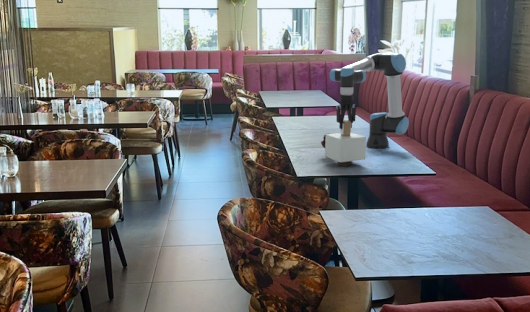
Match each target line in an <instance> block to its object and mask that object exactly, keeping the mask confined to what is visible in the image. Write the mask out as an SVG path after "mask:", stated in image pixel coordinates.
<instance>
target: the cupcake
mask: <svg viewBox="0 0 530 312" xmlns="http://www.w3.org/2000/svg"><path fill="white" fill-rule="evenodd" d="M352 163H353V161H348V162H338V161H337V164H338V165H339V166H343V165H344V166H343V167H345V166H351V165H352Z"/></svg>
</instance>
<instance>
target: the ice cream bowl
mask: <svg viewBox="0 0 530 312" xmlns="http://www.w3.org/2000/svg"><path fill="white" fill-rule="evenodd" d="M326 134H327V133H325V134H324V135H323V140H321V142H320V144H321V146H322V147H323V148H324V149H325V137H326ZM324 157H325V158H327V157H326V156H325V155H324Z"/></svg>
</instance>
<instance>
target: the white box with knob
mask: <svg viewBox="0 0 530 312" xmlns="http://www.w3.org/2000/svg"><path fill="white" fill-rule="evenodd" d="M343 123H344V135H342V134H340V132H339V133H338V132H336V133H325V134H326V137H325V148H324V151H325V153H324V157H325V156H326V157H325V158H329V159H330V160H333V161H335V162H337V163H338V162H348V161H352V162H354V161H355V162H356V161H361V160H362V161H363V160H366V148H367V146H366V143H367V136H364V135H361V134H358V133H354V132H351V134H350V128H351V121H349V120H348V119H344V120H343ZM351 129H352V128H351Z"/></svg>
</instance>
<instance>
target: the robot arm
mask: <svg viewBox="0 0 530 312" xmlns="http://www.w3.org/2000/svg"><path fill="white" fill-rule="evenodd" d="M406 65H407V61H406V58H405V56H404V55H403V54H402V53H396V52H377V53H374V54H371V55H368V56H365V57H364V58H362V60H360V61H357V62H354V63H352V64H348V65H346V66H344V67H340V68H332V69H331V70H330V72H329V80H331V81H332V82H336V83H337V82H339V83H340V88H339V89H340V91H339V93H340V95H339V104H338V105H336V106H335V109H336V111H335V112H336V123H339V129H340V132H339V133H340V134H342V135H344V123H343V120H345V115H346V112H347V120H349V121H351V128H350V134H351V133H352V129H353V128H352V127H353V123H354V122H356V116H357V115H356V114H357V111H356V110H357V107H358V106H357V105H358V104H354V103H353V102H354V95H353V94H354V84H361V83H364V82H365V81H366V79H367V72H372V71H380V72H383V76H384V77H386V87H387V88H386V90H387V102H388V112H385V111H383V112H375V113H371V114H370V115H369V116H370V117H369V135H368V138H367V139H366V148H367V147H368V148H373V149H386V148H389V146H390V143H389V140H388V134H387V133H389V134H396V135H403V134H405V133H406V132H407V131H408V129H409V124H410V120H409V118H408V117H406V114H405V112H404V111H403V103H402V102H403V99H402V82H401V76H402V75H403V72H404V71H405V70H406Z"/></svg>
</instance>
